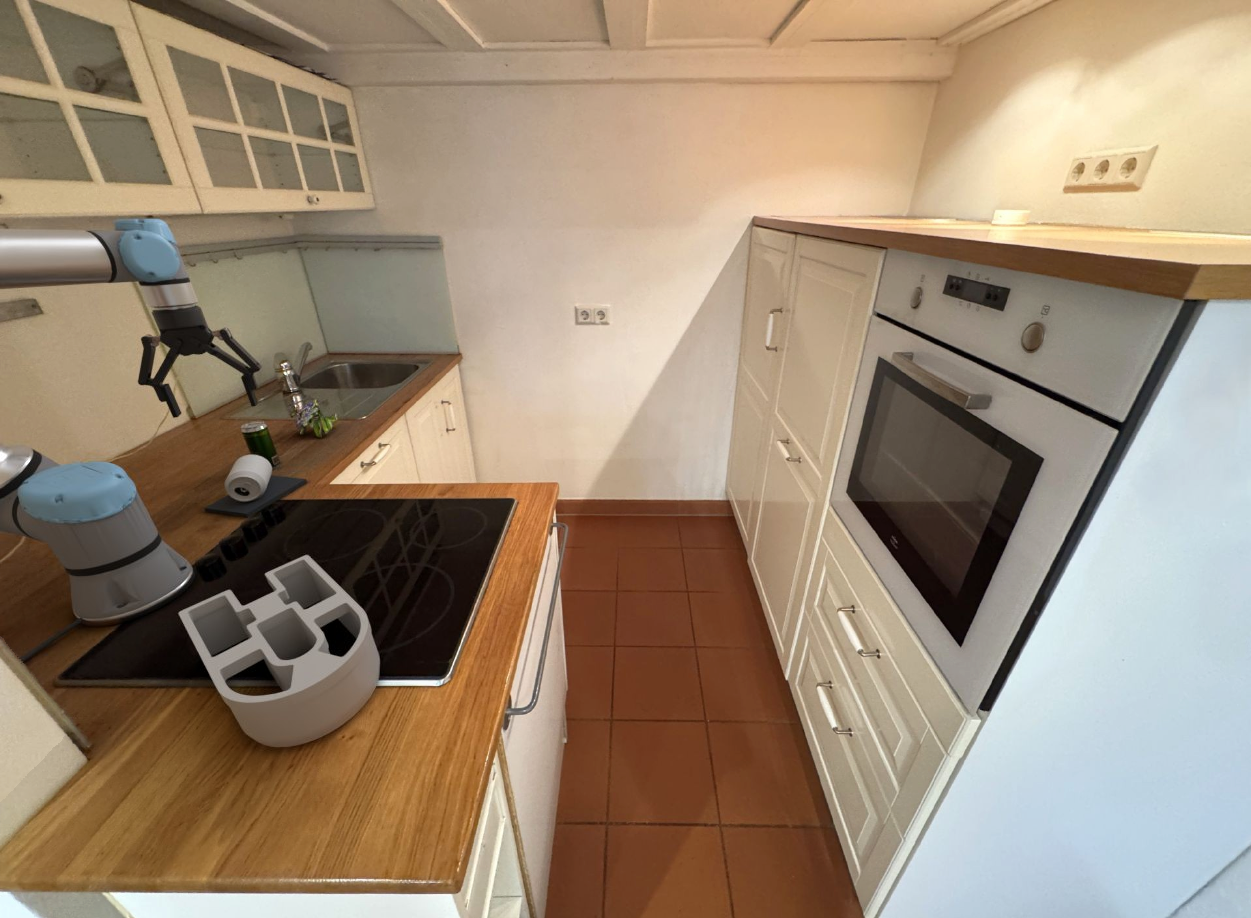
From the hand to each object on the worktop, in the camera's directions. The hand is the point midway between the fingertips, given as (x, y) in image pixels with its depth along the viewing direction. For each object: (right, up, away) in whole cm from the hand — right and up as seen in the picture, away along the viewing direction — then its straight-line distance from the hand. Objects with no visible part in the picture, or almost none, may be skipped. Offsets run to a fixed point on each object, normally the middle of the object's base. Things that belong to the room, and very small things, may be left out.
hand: (217, 410), depth 106 cm
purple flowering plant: (-6, -2, +45) cm, 46 cm away
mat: (+2, -19, +10) cm, 22 cm away
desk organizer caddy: (+41, -40, -36) cm, 68 cm away
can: (-2, -12, +13) cm, 18 cm away
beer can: (-6, -13, +24) cm, 28 cm away
